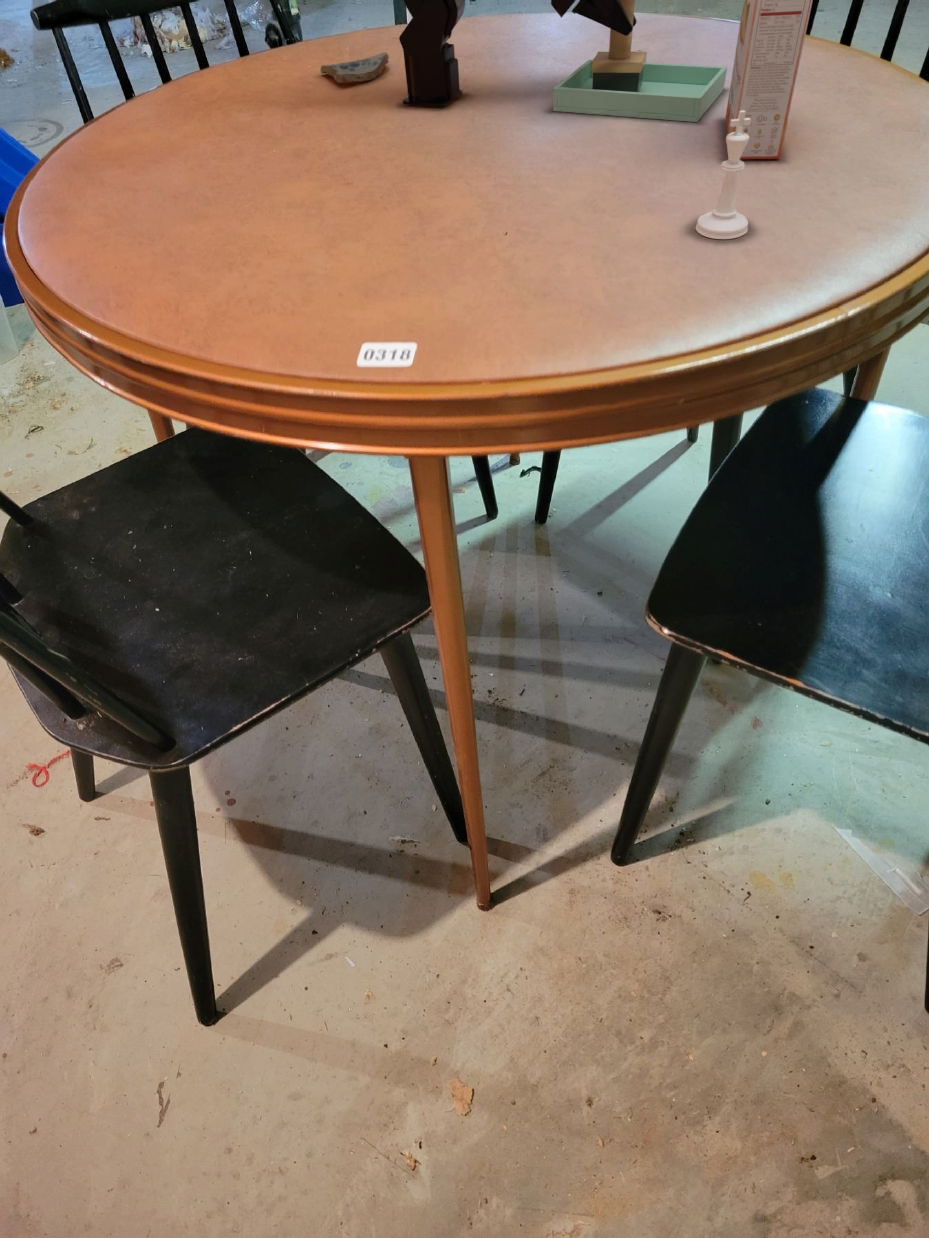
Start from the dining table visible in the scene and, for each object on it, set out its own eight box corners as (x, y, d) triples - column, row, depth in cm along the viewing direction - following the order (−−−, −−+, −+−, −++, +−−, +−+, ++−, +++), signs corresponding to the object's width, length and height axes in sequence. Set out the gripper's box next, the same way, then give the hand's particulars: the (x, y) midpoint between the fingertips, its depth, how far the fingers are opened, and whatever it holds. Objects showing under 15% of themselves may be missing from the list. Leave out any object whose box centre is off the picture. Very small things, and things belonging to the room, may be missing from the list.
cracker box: (721, 120, 96) (758, -110, 80) (772, 119, 95) (820, -114, 79) (724, 161, 87) (766, -89, 71) (780, 161, 86) (835, -93, 70)
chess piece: (689, 221, 77) (706, 105, 70) (738, 216, 77) (760, 100, 70) (703, 242, 74) (723, 123, 66) (754, 236, 74) (780, 117, 66)
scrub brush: (590, 95, 102) (594, -1, 95) (596, 84, 105) (601, -10, 98) (638, 95, 101) (647, -2, 93) (643, 84, 104) (652, -11, 96)
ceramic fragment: (330, 77, 113) (316, 50, 119) (334, 101, 116) (319, 73, 121) (400, 65, 115) (383, 39, 120) (402, 88, 118) (385, 62, 123)
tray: (552, 111, 102) (553, 88, 100) (587, 81, 110) (588, 59, 108) (696, 122, 96) (700, 98, 94) (723, 90, 103) (727, 67, 101)
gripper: (583, -144, 81) (676, -12, 86) (612, -163, 92) (692, -46, 98) (511, -44, 88) (601, 71, 94) (546, -73, 100) (624, 31, 106)
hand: (632, 29), depth 98 cm, fingers closed on scrub brush, 3 cm apart
